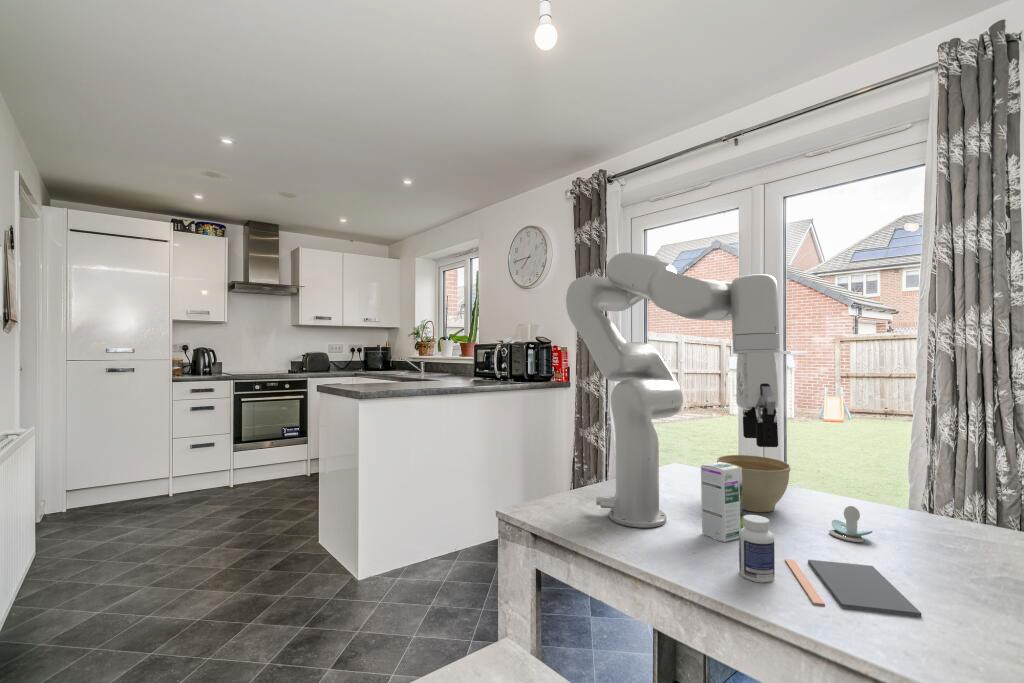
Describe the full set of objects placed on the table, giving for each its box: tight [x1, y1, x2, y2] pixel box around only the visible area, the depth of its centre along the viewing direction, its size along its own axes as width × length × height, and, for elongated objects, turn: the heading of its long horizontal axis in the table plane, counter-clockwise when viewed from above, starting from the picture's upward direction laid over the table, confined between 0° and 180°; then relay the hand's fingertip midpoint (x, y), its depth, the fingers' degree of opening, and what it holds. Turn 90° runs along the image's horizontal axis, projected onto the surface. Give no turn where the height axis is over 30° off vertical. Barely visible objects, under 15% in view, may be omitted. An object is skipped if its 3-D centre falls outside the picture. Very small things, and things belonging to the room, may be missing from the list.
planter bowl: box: [716, 454, 791, 513], centre depth 121 cm, size 16×16×11 cm
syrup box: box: [700, 462, 744, 543], centre depth 102 cm, size 6×6×14 cm
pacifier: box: [828, 505, 873, 543], centre depth 102 cm, size 7×6×6 cm
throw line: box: [784, 558, 826, 607], centre depth 82 cm, size 2×16×1 cm, turn 165°
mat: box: [807, 559, 922, 618], centre depth 80 cm, size 10×16×1 cm, turn 165°
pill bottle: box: [738, 514, 776, 583], centre depth 84 cm, size 5×5×10 cm
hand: (759, 442), depth 88 cm, fingers open, 9 cm apart
